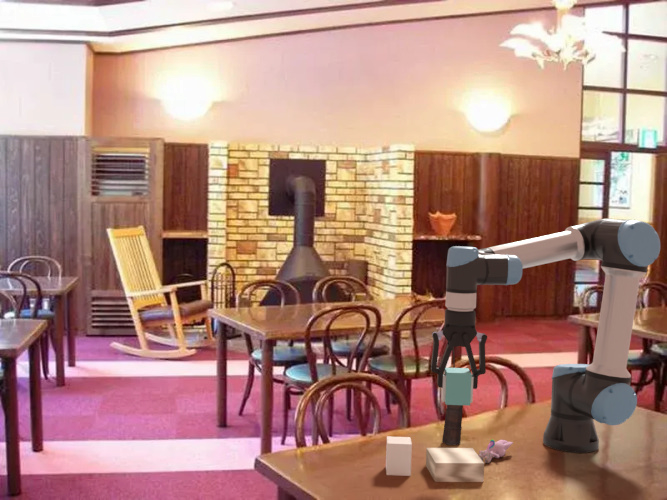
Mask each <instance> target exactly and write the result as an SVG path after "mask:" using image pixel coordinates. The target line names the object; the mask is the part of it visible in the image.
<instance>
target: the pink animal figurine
mask: <svg viewBox="0 0 667 500" xmlns="http://www.w3.org/2000/svg"><path fill="white" fill-rule="evenodd" d="M513 444H514V442H513V441H508V440H505V439H499V440H497V441H495V439H493V438H492V439H490V440H489V443H488V445H487V448H486V449H485V450H479V451H478V452H479V454H477V455H478V456H479V457H480V458H481V460H482V461H483V462H484V464H490V463H491V461H492V459H493V458H495V459H500V458H502V457H504V456H505V455H506V451H507V450H508V449H509V448H510V447H511V446H512V445H513Z"/></svg>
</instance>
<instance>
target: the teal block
mask: <svg viewBox="0 0 667 500" xmlns="http://www.w3.org/2000/svg"><path fill="white" fill-rule="evenodd" d="M444 374H446V395H445V402H444V403H445V405H446V406H447V405H463V406H471V403H470V401H471V376H472V371H471V369H469V367H455V368H453V367H446V368H445V371H444Z"/></svg>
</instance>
